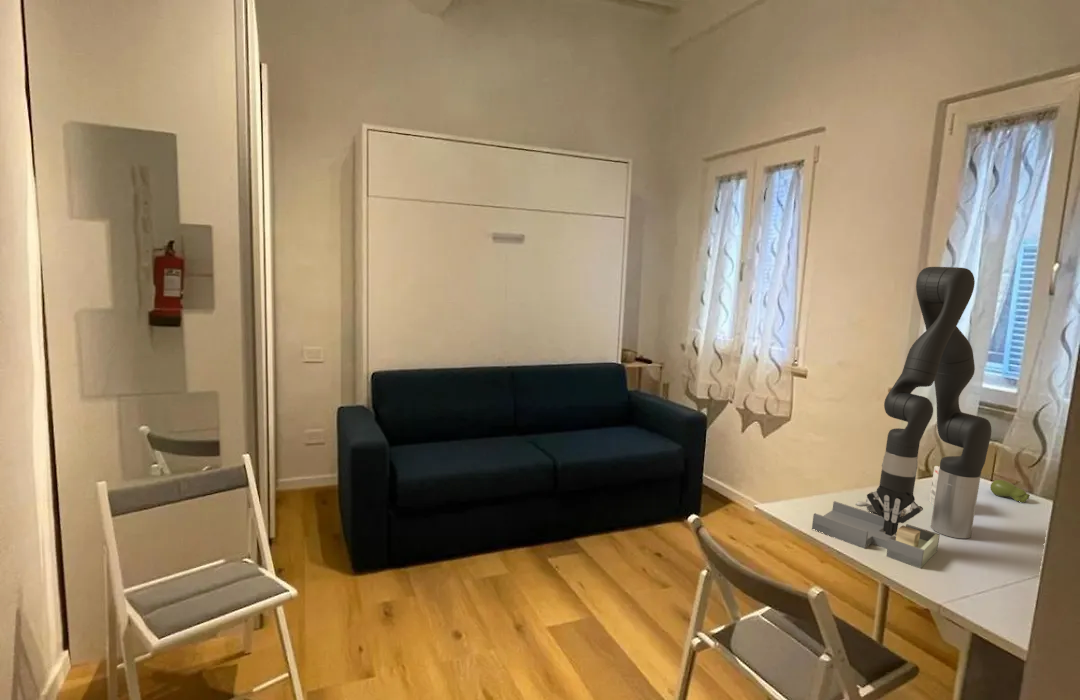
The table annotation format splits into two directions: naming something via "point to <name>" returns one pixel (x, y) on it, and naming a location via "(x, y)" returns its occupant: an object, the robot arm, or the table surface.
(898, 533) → the birch block
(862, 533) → the trap box
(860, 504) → the bunny figurine
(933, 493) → the ink box
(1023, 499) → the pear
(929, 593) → the table surface
